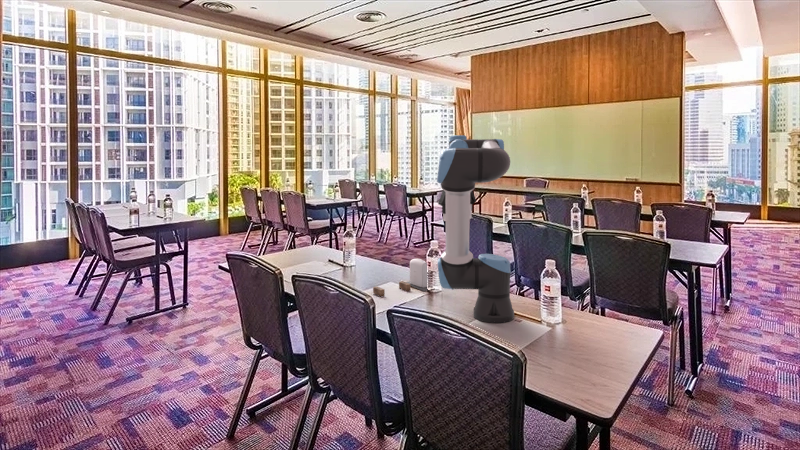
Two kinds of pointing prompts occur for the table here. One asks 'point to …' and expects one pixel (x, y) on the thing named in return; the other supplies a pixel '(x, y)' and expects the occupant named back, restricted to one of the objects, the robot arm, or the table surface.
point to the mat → (418, 287)
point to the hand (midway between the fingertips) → (457, 219)
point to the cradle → (402, 285)
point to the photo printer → (418, 272)
